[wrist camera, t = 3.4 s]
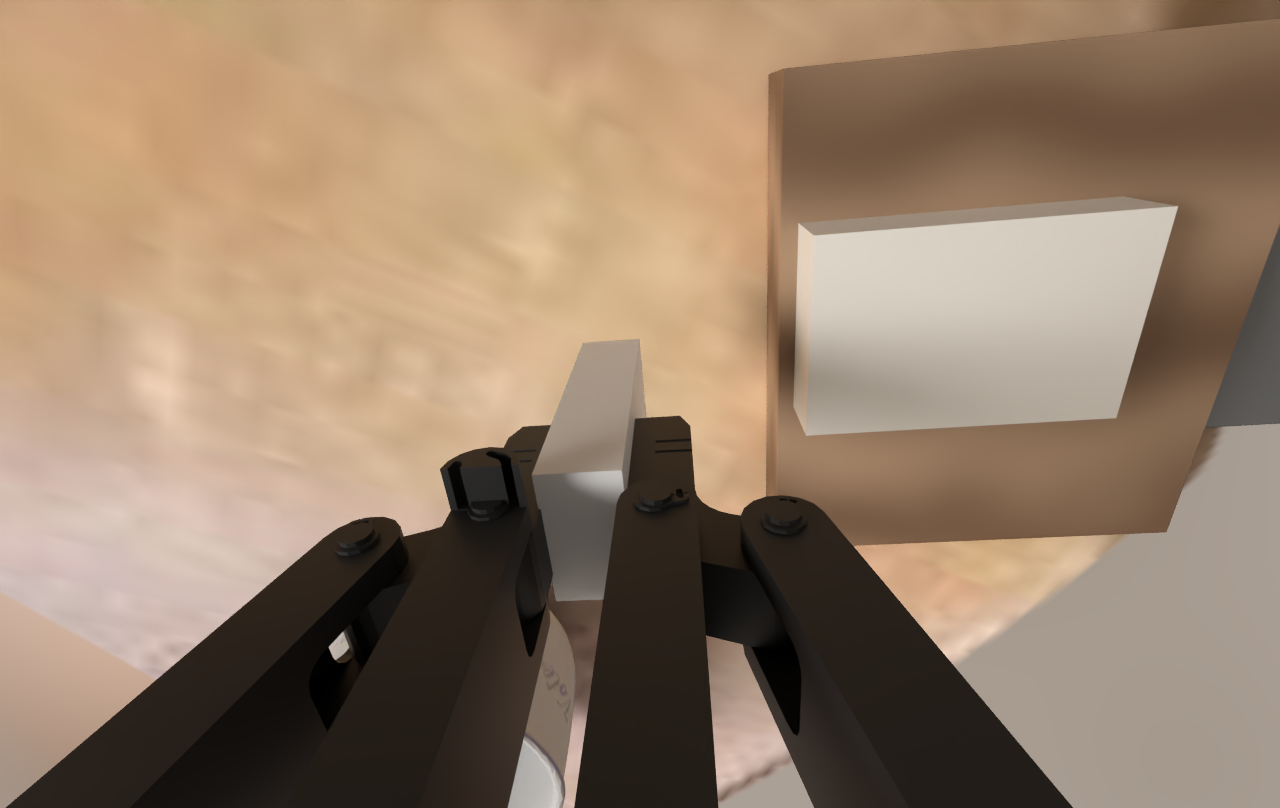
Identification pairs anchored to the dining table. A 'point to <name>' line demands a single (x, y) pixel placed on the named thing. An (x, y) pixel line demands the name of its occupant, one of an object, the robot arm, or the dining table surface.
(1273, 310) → the mat
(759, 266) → the dining table surface
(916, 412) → the white rectangular block
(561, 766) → the teacup
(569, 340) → the dining table surface
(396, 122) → the dining table surface
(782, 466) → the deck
